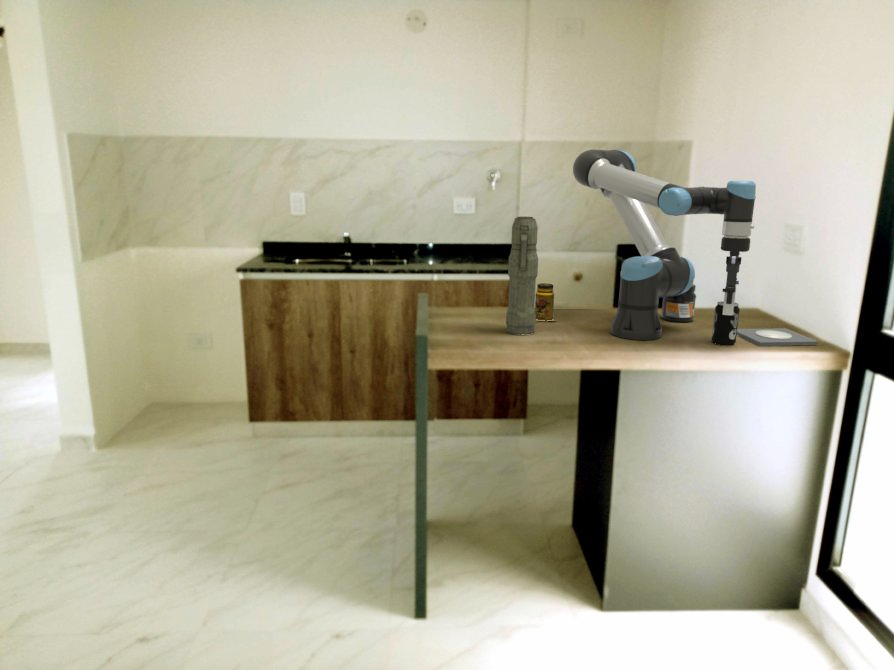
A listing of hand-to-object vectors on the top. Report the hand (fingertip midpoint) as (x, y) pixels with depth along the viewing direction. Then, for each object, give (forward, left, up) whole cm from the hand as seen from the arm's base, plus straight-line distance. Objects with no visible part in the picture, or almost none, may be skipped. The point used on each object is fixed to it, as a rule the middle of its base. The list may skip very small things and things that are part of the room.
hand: (728, 310), depth 196 cm
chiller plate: (+18, +4, -10) cm, 21 cm away
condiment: (-46, +34, -10) cm, 58 cm away
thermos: (-57, +17, -10) cm, 61 cm away
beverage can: (0, 0, -10) cm, 10 cm away
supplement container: (0, +31, -10) cm, 33 cm away
